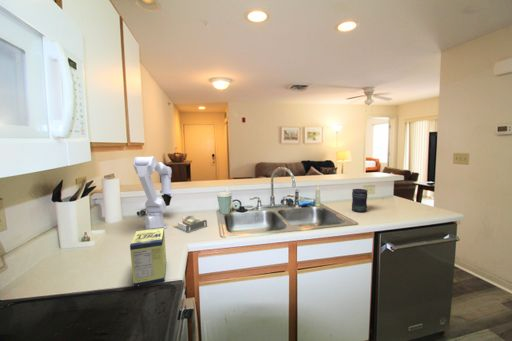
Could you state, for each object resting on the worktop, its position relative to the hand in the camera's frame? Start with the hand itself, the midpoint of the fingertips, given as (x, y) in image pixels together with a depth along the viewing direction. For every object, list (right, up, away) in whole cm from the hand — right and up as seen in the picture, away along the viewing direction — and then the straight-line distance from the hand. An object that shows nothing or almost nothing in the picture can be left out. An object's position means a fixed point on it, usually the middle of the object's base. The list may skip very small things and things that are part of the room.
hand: (167, 205), depth 153 cm
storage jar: (+131, -6, +13) cm, 131 cm away
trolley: (+20, -10, -14) cm, 26 cm away
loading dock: (+18, -11, -12) cm, 24 cm away
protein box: (+17, -17, -62) cm, 67 cm away
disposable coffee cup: (+36, -7, +13) cm, 39 cm away
